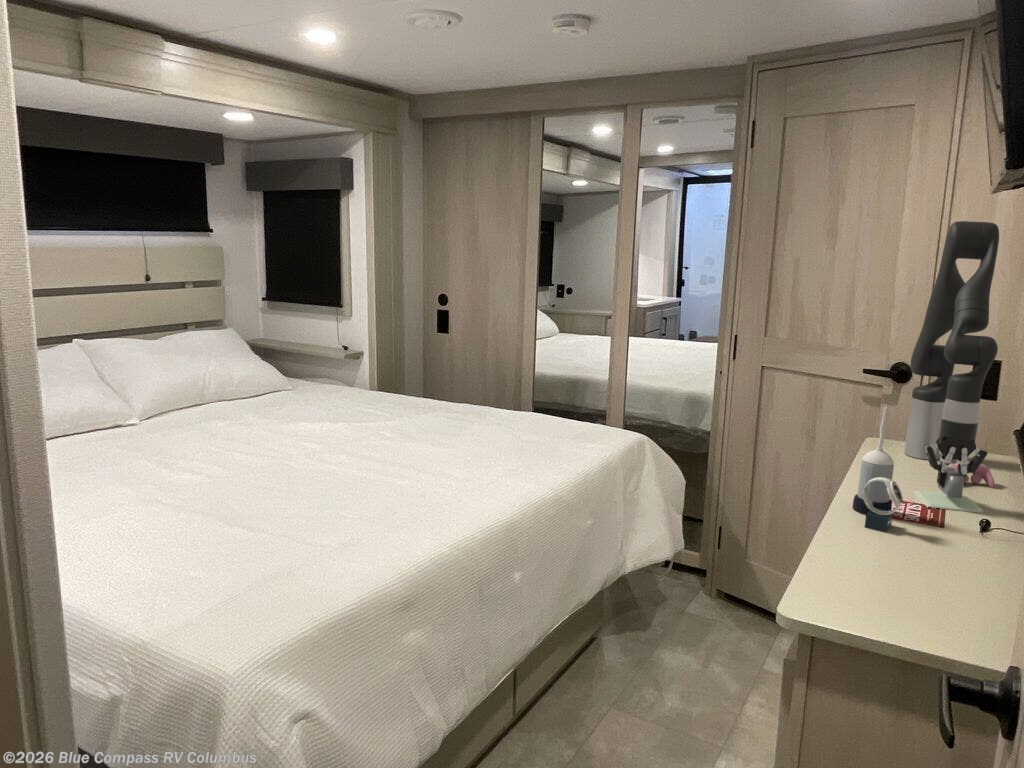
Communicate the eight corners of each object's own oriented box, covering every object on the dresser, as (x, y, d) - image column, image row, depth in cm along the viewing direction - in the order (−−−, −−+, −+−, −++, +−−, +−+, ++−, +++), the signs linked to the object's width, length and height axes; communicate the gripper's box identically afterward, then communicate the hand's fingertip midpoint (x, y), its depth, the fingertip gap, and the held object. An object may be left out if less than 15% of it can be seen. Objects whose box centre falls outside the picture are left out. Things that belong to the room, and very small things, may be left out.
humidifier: (875, 519, 168) (889, 412, 163) (844, 507, 175) (857, 404, 170) (898, 514, 172) (913, 409, 167) (867, 502, 179) (880, 402, 174)
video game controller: (987, 489, 196) (984, 463, 197) (996, 487, 191) (994, 460, 193) (948, 487, 196) (945, 461, 198) (957, 485, 192) (954, 458, 194)
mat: (913, 492, 187) (913, 490, 187) (965, 497, 184) (965, 494, 184) (927, 507, 176) (928, 505, 176) (983, 512, 174) (983, 510, 174)
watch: (895, 534, 159) (902, 486, 157) (856, 525, 164) (862, 478, 162) (901, 527, 164) (907, 480, 161) (862, 518, 168) (868, 472, 166)
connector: (932, 482, 186) (935, 463, 185) (946, 483, 186) (949, 464, 185) (949, 497, 175) (952, 477, 174) (963, 498, 175) (966, 478, 174)
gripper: (986, 417, 178) (975, 485, 182) (922, 412, 181) (913, 479, 184) (999, 424, 171) (987, 495, 174) (933, 419, 174) (923, 489, 177)
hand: (949, 486), depth 179 cm, fingers closed on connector, 3 cm apart
